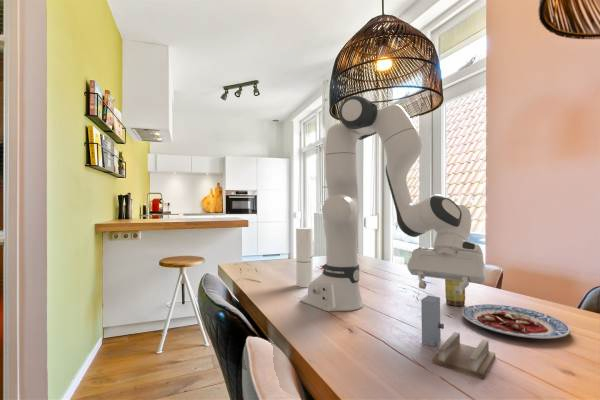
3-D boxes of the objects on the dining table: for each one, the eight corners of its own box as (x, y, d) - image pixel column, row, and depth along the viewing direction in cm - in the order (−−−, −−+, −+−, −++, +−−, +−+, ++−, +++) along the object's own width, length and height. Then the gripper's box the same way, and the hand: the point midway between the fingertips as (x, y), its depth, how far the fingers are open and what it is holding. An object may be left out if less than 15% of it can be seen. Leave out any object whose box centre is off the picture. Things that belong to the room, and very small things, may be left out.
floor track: (432, 362, 70) (432, 347, 70) (449, 344, 79) (448, 330, 79) (483, 379, 63) (483, 361, 63) (495, 357, 72) (494, 341, 72)
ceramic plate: (532, 354, 74) (532, 341, 74) (443, 318, 98) (443, 308, 98) (591, 335, 84) (591, 324, 84) (498, 306, 108) (497, 298, 108)
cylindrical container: (315, 284, 138) (315, 228, 138) (307, 288, 132) (307, 229, 132) (302, 282, 142) (301, 227, 142) (293, 286, 136) (292, 228, 136)
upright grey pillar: (421, 343, 80) (421, 299, 80) (428, 336, 84) (428, 295, 84) (438, 347, 77) (437, 302, 77) (444, 340, 81) (444, 298, 81)
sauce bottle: (467, 307, 107) (467, 249, 107) (448, 306, 108) (447, 248, 108) (462, 301, 113) (461, 246, 113) (443, 300, 114) (442, 246, 115)
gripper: (411, 241, 98) (398, 278, 90) (486, 245, 85) (478, 289, 77) (416, 253, 101) (405, 290, 94) (489, 259, 88) (483, 303, 80)
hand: (439, 290), depth 85 cm, fingers open, 8 cm apart
